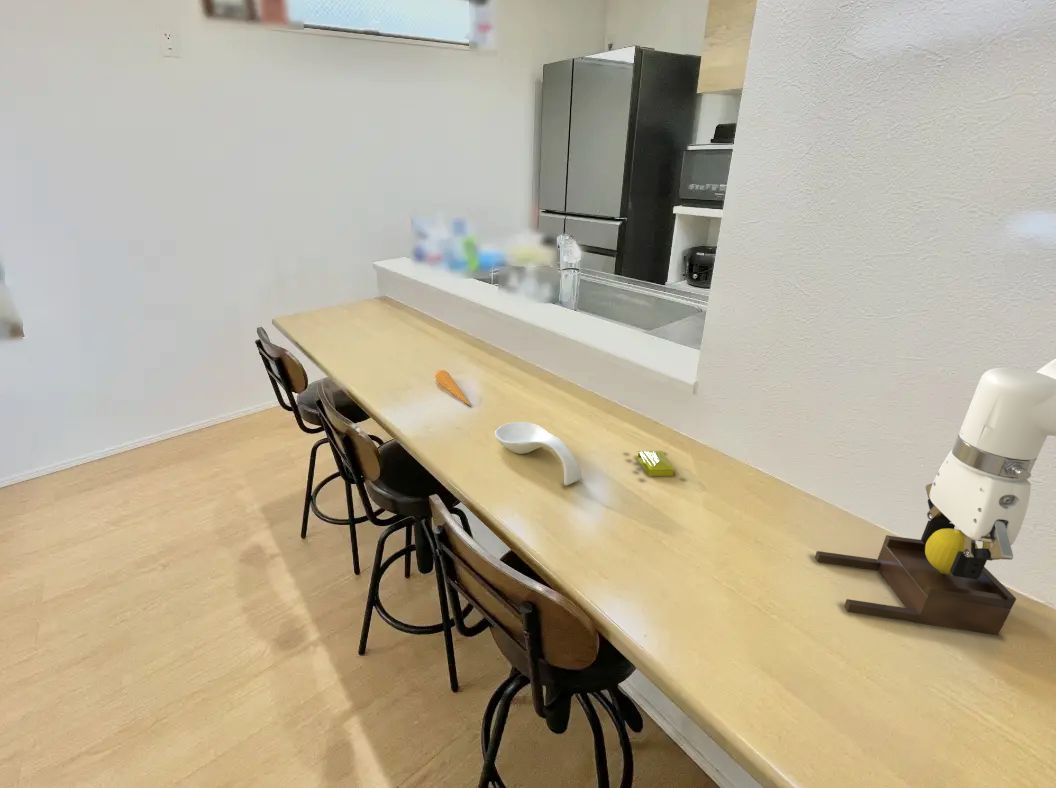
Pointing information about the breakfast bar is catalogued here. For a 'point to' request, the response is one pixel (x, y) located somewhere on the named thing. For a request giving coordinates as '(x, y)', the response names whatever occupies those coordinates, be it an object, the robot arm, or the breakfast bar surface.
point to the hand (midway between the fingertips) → (948, 558)
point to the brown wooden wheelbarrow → (929, 590)
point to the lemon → (944, 548)
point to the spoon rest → (538, 445)
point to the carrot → (449, 384)
